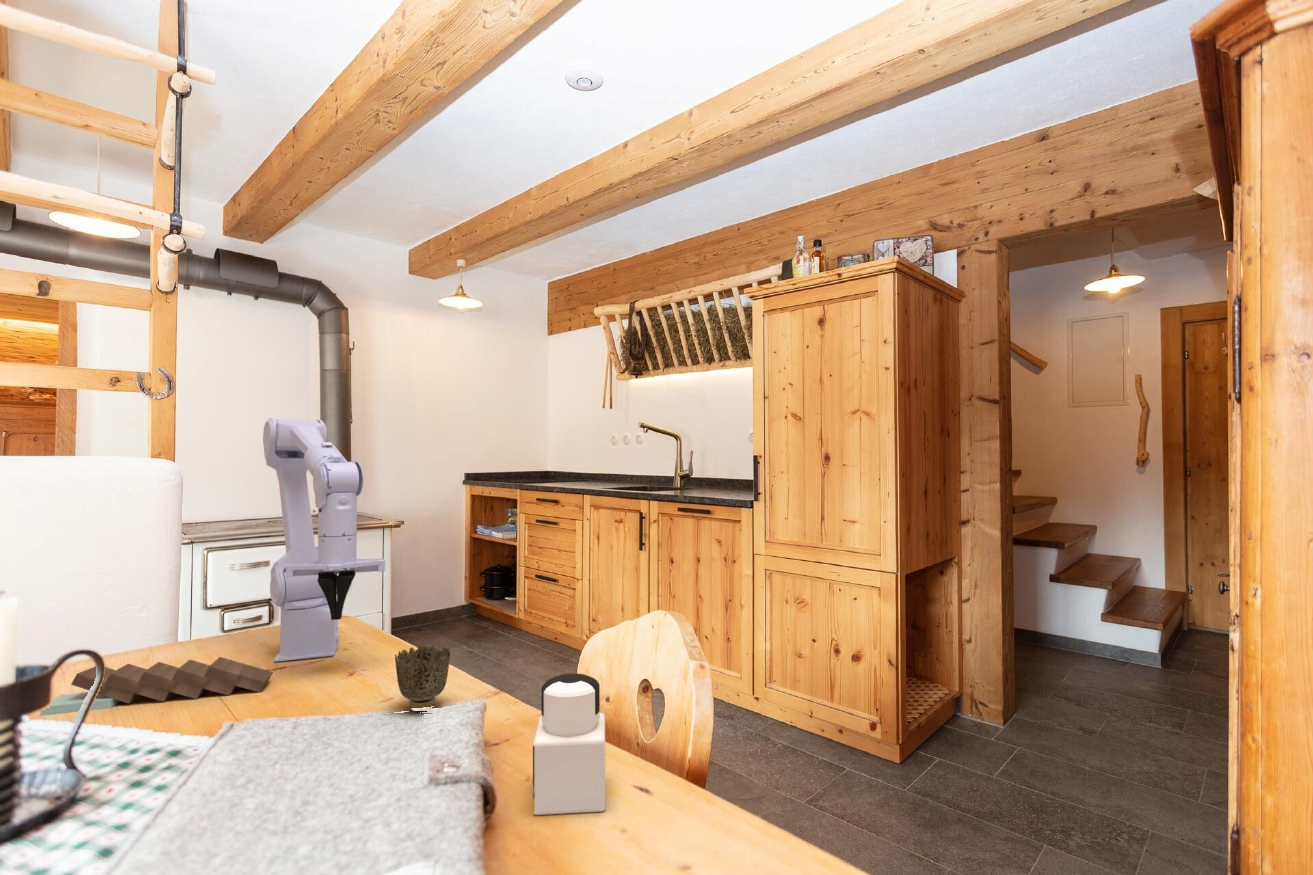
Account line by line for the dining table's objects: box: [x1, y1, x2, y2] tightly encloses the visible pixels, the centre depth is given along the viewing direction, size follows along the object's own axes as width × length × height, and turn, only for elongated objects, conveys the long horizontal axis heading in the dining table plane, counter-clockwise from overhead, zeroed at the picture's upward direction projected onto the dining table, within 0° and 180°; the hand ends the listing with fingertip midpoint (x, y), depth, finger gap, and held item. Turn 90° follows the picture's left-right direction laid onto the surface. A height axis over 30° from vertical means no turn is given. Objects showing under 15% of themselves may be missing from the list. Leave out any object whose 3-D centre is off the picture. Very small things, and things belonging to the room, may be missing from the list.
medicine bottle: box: [532, 673, 606, 816], centre depth 67 cm, size 7×7×12 cm
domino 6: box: [204, 656, 274, 693], centre depth 99 cm, size 2×5×8 cm
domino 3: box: [105, 663, 176, 703], centre depth 95 cm, size 2×5×8 cm
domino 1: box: [40, 691, 121, 717], centre depth 92 cm, size 2×5×8 cm
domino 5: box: [172, 659, 239, 697], centre depth 97 cm, size 2×5×8 cm
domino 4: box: [139, 661, 208, 700], centre depth 96 cm, size 2×5×8 cm
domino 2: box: [70, 665, 143, 704], centre depth 94 cm, size 2×5×8 cm
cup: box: [394, 644, 452, 709], centre depth 90 cm, size 8×7×8 cm
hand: (336, 618), depth 105 cm, fingers closed
